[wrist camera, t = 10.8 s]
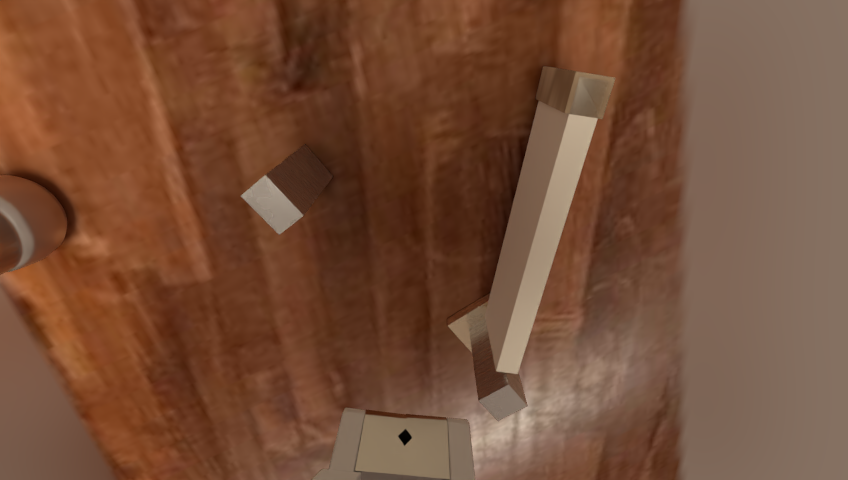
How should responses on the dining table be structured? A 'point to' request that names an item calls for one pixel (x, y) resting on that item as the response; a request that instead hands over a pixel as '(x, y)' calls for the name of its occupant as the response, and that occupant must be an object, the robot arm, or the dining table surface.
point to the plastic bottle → (28, 223)
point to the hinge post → (487, 362)
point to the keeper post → (288, 189)
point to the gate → (542, 205)
